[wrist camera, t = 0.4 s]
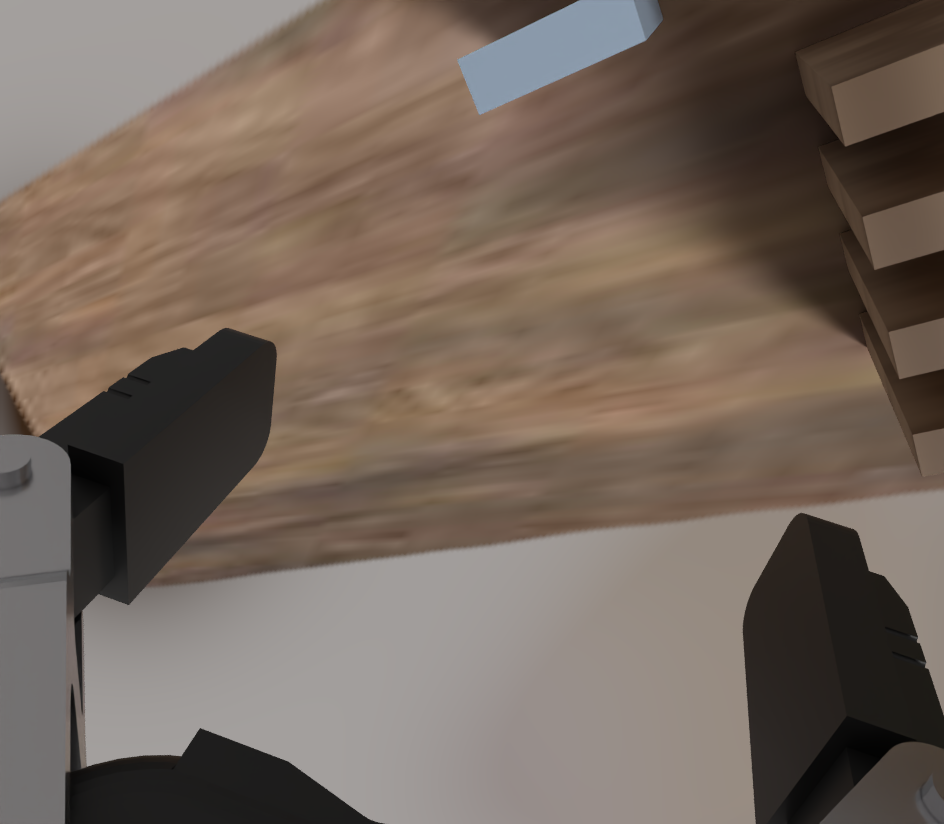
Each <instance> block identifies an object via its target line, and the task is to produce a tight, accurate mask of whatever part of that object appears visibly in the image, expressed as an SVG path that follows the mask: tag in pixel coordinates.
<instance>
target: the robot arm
mask: <svg viewBox="0 0 944 824" xmlns="http://www.w3.org/2000/svg"><path fill="white" fill-rule="evenodd" d="M276 358H277V353H276V347H275V345H274V344H273V343H272V342H270V341H267V340H264V339H261V338H258V337H254V336H251V335H248V334H245V333H242V332H239V331H236V330H233V329H229V328H224V329H222V330H220V331H219V332H217V333H216V334H215V335H213V336H212V337H211V338H209V339H208V340H207V341H205V342H204V343H203V344H201V345H200V346H199V347H197V348H196V349H195V350H190V349H187V348H180V349H177V350H174V351H171V352H168V353H165V354H161V355H158V356H155V357H152V358H150V359H149V360H147V361H146V362H144V363H143V364H142V365H140V366H139V367H137V368H136V369H134V370H133V371H132V372H130V373H129V374H128V376H127V378H124V377H123V378H122V379H120V380H119V381H117V382H116V383H115V384H113V385H112V386H110V387H109V389H108V391H107V392H105V391H103V392H102V393H100V394H99V395H98V396H96V397H95V398H93V399H92V400H90V401H89V402H88V403H86V404H85V405H83V406H82V407H80V408H79V409H78V410H76V411H75V412H73V413H72V414H71V415H69V416H68V417H66V418H65V419H63V420H62V421H61V422H59V423H58V424H56V425H55V426H54V427H52V428H51V429H49V430H48V431H46V432H45V433H44V434H42V435H41V436H39V437H35V436H29V435H0V824H383V823H378V822H375V821H372V820H370V819H368V818H366V817H365V816H363V815H362V814H360V813H359V812H357V811H356V810H355V809H353V808H352V807H350V806H349V805H348V804H346V803H345V802H344V801H342V800H341V799H339V798H338V797H337V796H335V795H334V794H332V793H331V792H329V791H328V790H327V789H325V788H324V787H323V786H321V785H320V784H319V783H317V782H316V781H314V780H313V779H311V778H310V777H309V776H307V775H306V774H305V773H303V772H301V770H299V769H298V768H296V767H295V766H294V765H292V764H291V763H289V762H288V761H285V760H282V759H280V758H277V757H275V756H272V755H269V754H267V753H264V752H261V751H259V750H256V749H254V748H251V747H248V746H246V745H243V744H240V743H238V742H235V741H232V740H230V739H227V738H225V737H222V736H219V735H217V734H214V733H211V732H209V731H206V730H203V729H201V728H200V729H199V731H198V732H197V734H196V735H195V737H194V738H193V740H192V741H191V743H190V744H189V746H188V747H187V749H186V750H185V752H184V753H183V755H182V756H171V755H157V756H156V755H154V756H153V755H152V756H137V757H129V758H121V759H116V760H112V761H108V762H103V763H99V764H95V765H92V766H88V767H87V764H86V741H85V686H84V685H85V682H84V623H83V622H84V621H83V609H84V608H85V607H86V606H87V605H88V604H89V603H90V602H91V601H92V600H93V599H94V598H95V597H96V596H97V595H98V594H100V595H103V596H106V597H108V598H111V599H114V600H116V601H119V602H122V603H125V604H127V605H129V604H130V603H131V602H132V601H133V600H134V599H135V598H136V596H137V595H138V594H139V593H140V592H141V591H142V590H143V589H144V588H145V586H146V585H147V584H148V583H149V582H150V581H151V580H152V579H153V578H154V576H155V575H156V574H157V573H158V572H159V571H160V570H161V569H162V568H163V566H164V565H165V564H166V563H167V562H168V561H169V560H170V559H171V558H172V556H173V555H174V554H175V553H176V552H177V551H178V550H179V549H180V548H181V546H182V545H183V544H184V543H185V542H186V541H187V540H188V539H189V538H190V536H191V535H192V534H193V533H194V532H195V531H196V530H197V529H198V528H199V526H200V525H201V524H202V523H203V522H204V521H205V520H206V519H207V518H208V516H209V515H210V514H211V513H212V512H213V511H214V510H215V509H216V508H217V506H218V505H219V504H220V503H221V502H222V501H223V500H224V499H225V498H226V496H227V495H228V494H229V493H230V492H231V491H232V490H233V489H234V488H235V486H236V485H237V484H238V483H239V482H240V481H241V480H242V479H243V478H244V476H245V475H246V474H247V473H248V472H249V471H250V470H251V469H252V468H253V466H254V465H255V464H256V463H257V461H258V460H259V458H260V456H261V455H262V453H263V451H264V448H265V446H266V443H267V440H268V437H269V433H270V427H271V417H272V405H273V394H274V382H275V371H276ZM917 638H918V636H917V633H916V630H915V627H914V624H913V621H912V618H911V615H910V612H909V609H908V607H907V606H906V604H905V603H904V601H903V600H902V599H901V598H900V596H899V595H898V594H897V592H896V591H895V590H894V588H893V587H892V586H891V584H890V583H889V582H888V581H887V579H886V578H885V577H884V576H882V575H879V574H876V573H873V572H870V571H869V570H868V566H867V563H866V559H865V556H864V552H863V549H862V545H861V542H860V538H859V535H858V533H857V532H856V531H855V530H854V529H851V528H848V527H844V526H842V525H838V524H835V523H832V522H829V521H826V520H823V519H820V518H817V517H813V516H810V515H807V514H804V513H800V514H798V515H796V516H795V517H794V518H793V520H792V521H791V522H790V524H789V526H788V527H787V529H786V531H785V533H784V535H783V536H782V538H781V540H780V542H779V543H778V545H777V547H776V549H775V551H774V552H773V554H772V556H771V558H770V559H769V561H768V563H767V565H766V567H765V568H764V570H763V572H762V574H761V576H760V577H759V579H758V581H757V583H756V584H755V586H754V588H753V590H752V592H751V595H750V598H749V600H748V603H747V607H746V610H745V615H744V621H743V641H744V656H745V669H746V684H747V699H748V715H749V730H750V744H751V759H752V773H753V789H754V804H755V817H756V818H755V819H756V824H944V715H943V712H942V709H941V706H940V703H939V700H938V697H937V694H936V691H935V688H934V685H933V681H932V678H931V676H930V672H929V670H928V669H926V668H925V664H926V660H925V657H924V654H923V651H922V648H921V646H920V643H917Z"/></svg>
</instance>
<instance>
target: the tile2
mask: <svg viewBox="0 0 944 824" xmlns="http://www.w3.org/2000/svg"><path fill="white" fill-rule="evenodd" d="M795 55H796V59H797V63H798V67H799V71H800V75H801V79H802V83H803V87H804V91H805V95H806V97H807V98H808V99H809V100H810V102H811V103H812V104H813V106H814V107H815V108H816V110H817V111H818V112H819V113H820V115H821V116H822V117H823V119H824V120H825V121H826V122H827V124H828V125H829V126H830V128H831V129H832V130H833V132H834V133H835V134H836V135H837V137H838V138H839V139H840V141H841V142H842V143H843V144H844V146H845V147H846V146H848V145H851V144H854V143H857V142H860V141H863V140H865V139H868V138H871V137H874V136H877V135H880V134H882V133H885V132H888V131H891V130H894V129H897V128H899V127H902V126H905V125H908V124H911V123H914V122H916V121H919V120H922V119H925V118H928V117H931V116H933V115H936V114H939V113H942V112H944V0H921V1H919V2H916V3H914V4H911V5H909V6H906V7H904V8H901V9H899V10H897V11H894V12H892V13H889V14H887V15H884V16H882V17H879V18H877V19H875V20H872V21H870V22H867V23H865V24H862V25H860V26H857V27H855V28H853V29H850V30H848V31H845V32H843V33H840V34H838V35H835V36H833V37H830V38H828V39H826V40H823V41H821V42H818V43H816V44H813V45H811V46H808V47H806V48H804V49H801V50H799V51H796V52H795Z"/></svg>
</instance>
